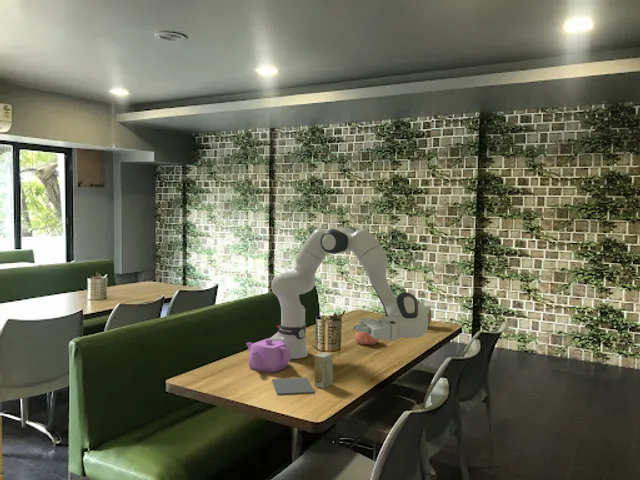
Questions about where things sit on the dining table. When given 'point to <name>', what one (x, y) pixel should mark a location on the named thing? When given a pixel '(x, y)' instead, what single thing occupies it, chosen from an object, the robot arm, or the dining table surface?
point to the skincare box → (323, 369)
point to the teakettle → (268, 355)
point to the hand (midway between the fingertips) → (354, 328)
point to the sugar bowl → (365, 338)
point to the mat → (292, 386)
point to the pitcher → (425, 310)
